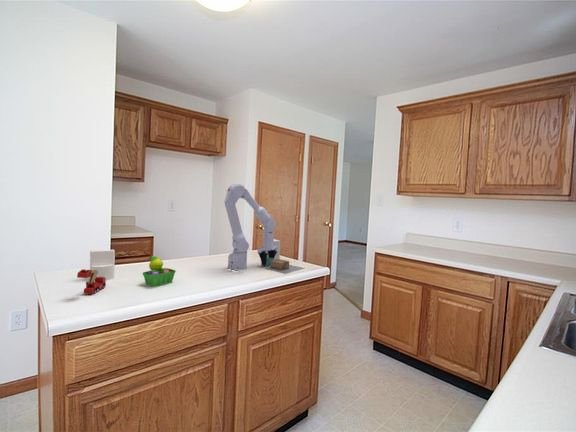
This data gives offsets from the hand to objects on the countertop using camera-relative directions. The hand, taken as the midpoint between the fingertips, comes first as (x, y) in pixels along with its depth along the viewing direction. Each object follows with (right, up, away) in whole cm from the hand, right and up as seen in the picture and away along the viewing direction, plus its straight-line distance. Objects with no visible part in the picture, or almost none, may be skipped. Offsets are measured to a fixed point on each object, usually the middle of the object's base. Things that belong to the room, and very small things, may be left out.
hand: (267, 264), depth 167 cm
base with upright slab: (-69, -1, -36) cm, 77 cm away
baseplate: (+10, -2, -5) cm, 11 cm away
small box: (+2, -1, +14) cm, 14 cm away
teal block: (0, -2, 0) cm, 2 cm away
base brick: (+7, -1, -5) cm, 9 cm away
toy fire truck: (-61, -2, -54) cm, 82 cm away
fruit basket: (-43, -2, -39) cm, 58 cm away
